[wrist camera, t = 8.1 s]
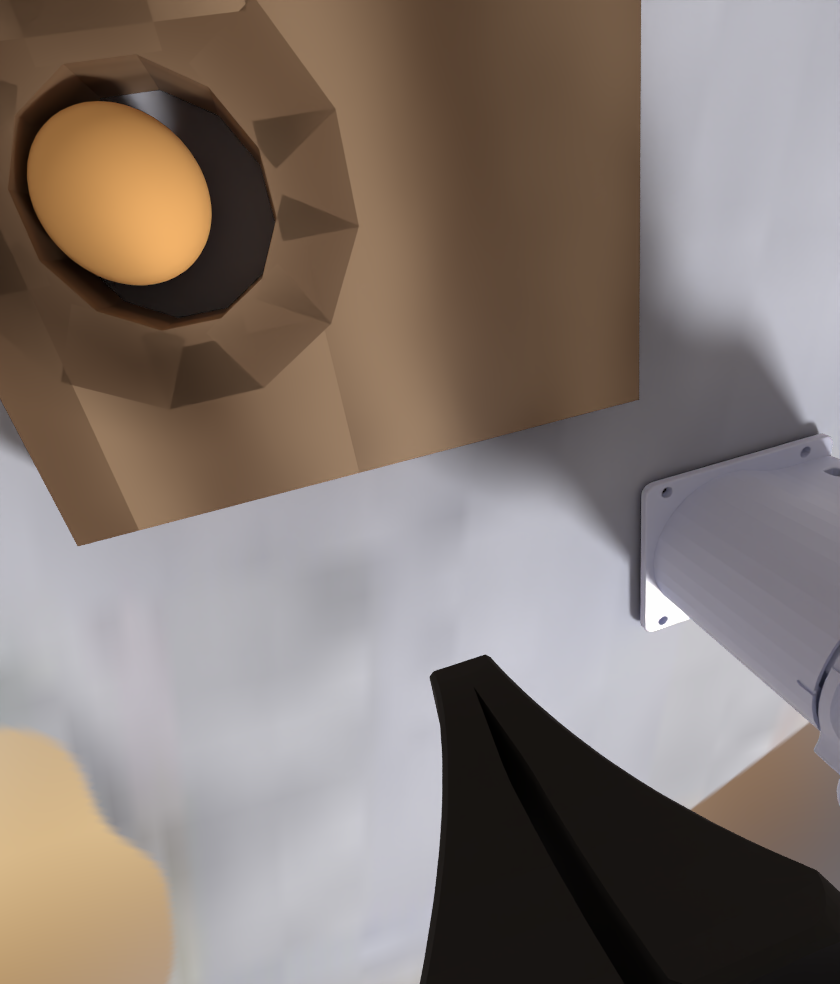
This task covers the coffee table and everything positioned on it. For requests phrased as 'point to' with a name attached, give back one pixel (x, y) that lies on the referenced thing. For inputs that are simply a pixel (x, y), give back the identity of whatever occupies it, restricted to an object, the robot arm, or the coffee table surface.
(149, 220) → the ball
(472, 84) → the board
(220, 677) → the coffee table surface
